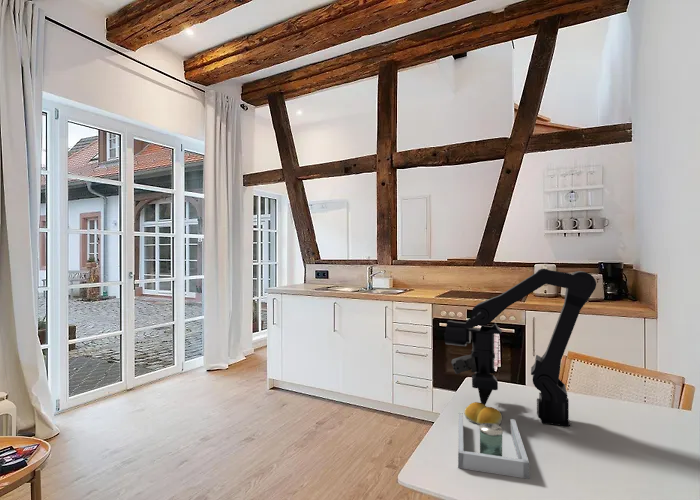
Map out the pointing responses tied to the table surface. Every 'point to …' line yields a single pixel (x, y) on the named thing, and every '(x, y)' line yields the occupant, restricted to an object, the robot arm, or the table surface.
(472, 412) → the bread roll
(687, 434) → the table surface
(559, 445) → the table surface
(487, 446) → the tea tin
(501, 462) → the u-shaped frame
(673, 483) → the table surface
